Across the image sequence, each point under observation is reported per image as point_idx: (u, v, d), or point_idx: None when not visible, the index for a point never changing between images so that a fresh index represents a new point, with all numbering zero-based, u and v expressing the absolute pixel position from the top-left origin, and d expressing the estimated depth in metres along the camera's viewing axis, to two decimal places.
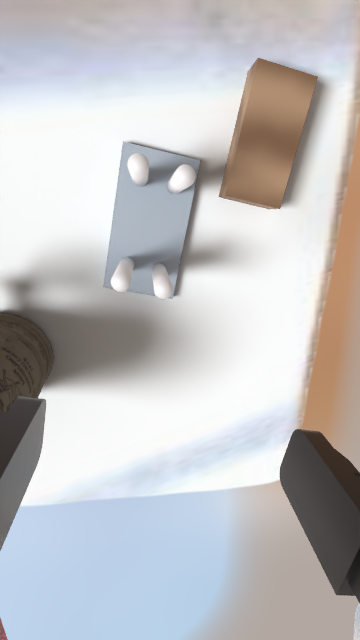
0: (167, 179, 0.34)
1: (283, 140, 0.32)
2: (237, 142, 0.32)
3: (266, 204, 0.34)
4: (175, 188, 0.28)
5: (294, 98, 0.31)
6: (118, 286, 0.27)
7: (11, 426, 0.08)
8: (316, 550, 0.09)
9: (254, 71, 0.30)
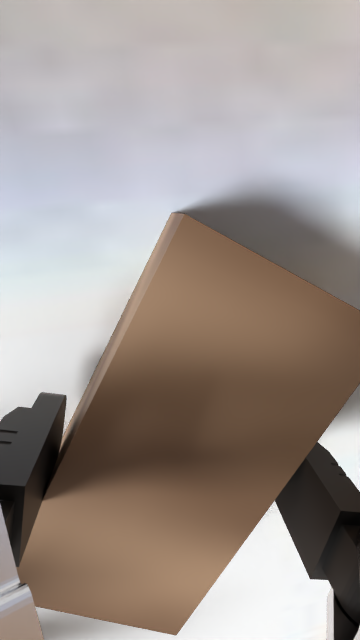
0: None
1: (228, 485, 0.09)
2: (60, 461, 0.09)
3: (135, 624, 0.11)
4: None
5: (296, 379, 0.08)
6: None
7: (37, 420, 0.08)
8: (293, 537, 0.09)
9: (163, 255, 0.07)
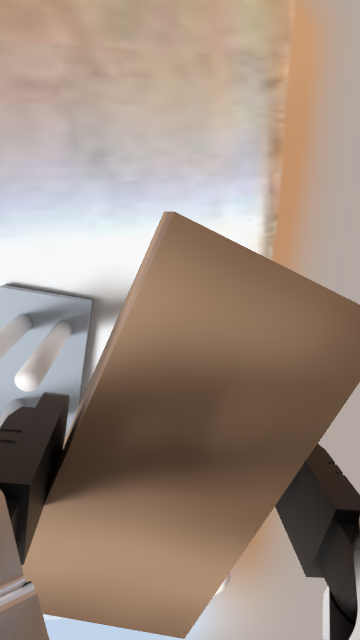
0: (55, 322, 0.30)
1: (230, 487, 0.09)
2: (60, 467, 0.08)
3: (142, 628, 0.10)
4: None
5: (296, 376, 0.08)
6: None
7: (41, 419, 0.08)
8: (290, 535, 0.09)
9: (154, 255, 0.07)
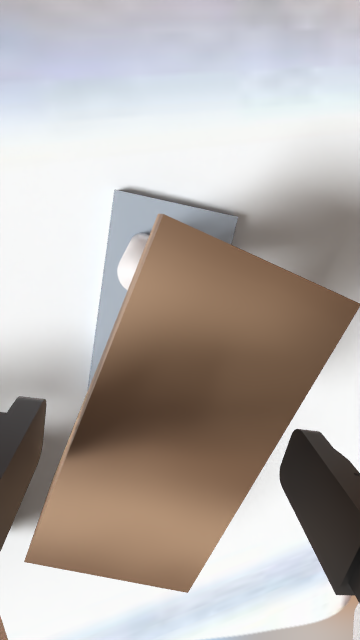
0: None
1: (222, 451, 0.10)
2: (74, 437, 0.10)
3: (150, 583, 0.12)
4: None
5: (274, 352, 0.09)
6: None
7: (12, 426, 0.08)
8: (316, 550, 0.09)
9: (149, 250, 0.08)
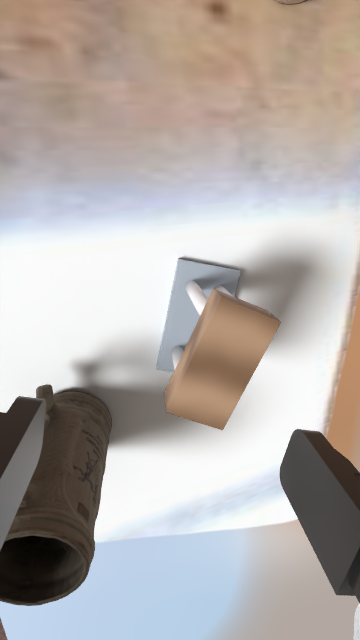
0: (213, 286, 0.41)
1: (236, 371, 0.30)
2: (187, 365, 0.30)
3: (209, 424, 0.31)
4: None
5: (253, 337, 0.29)
6: None
7: (11, 426, 0.08)
8: (316, 550, 0.09)
9: (215, 306, 0.28)
